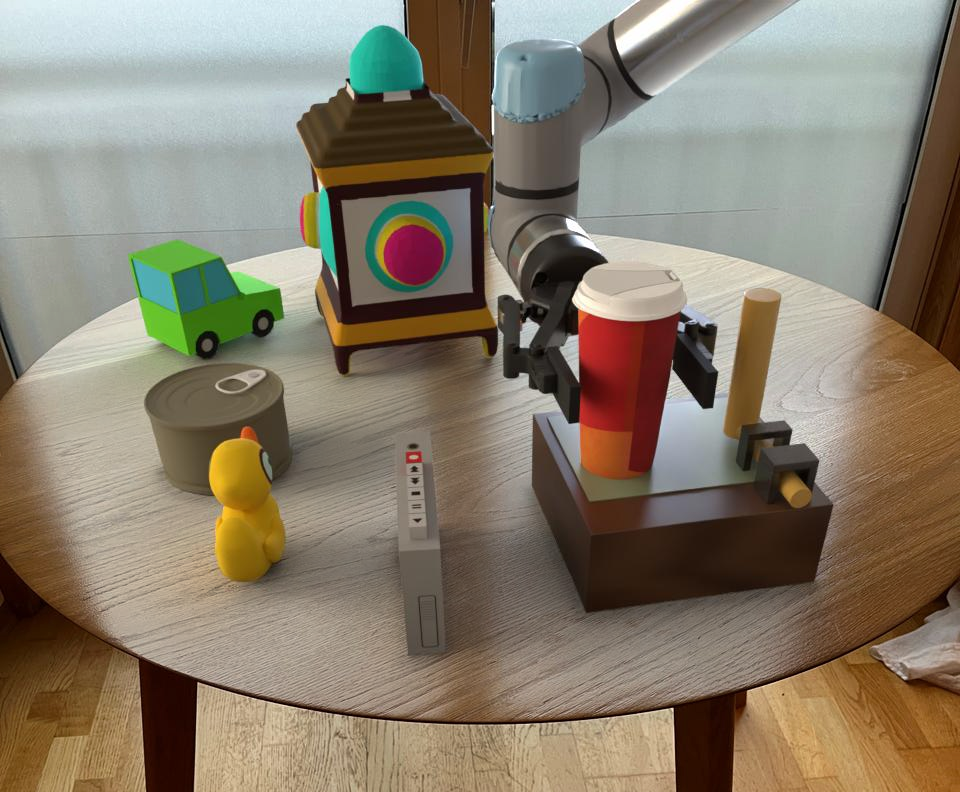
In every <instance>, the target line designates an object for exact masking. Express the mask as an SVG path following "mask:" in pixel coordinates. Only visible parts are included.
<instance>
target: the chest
mask: <svg viewBox="0 0 960 792" xmlns="http://www.w3.org/2000/svg"><path fill="white" fill-rule="evenodd" d="M728 395H729V392H722V393H715V399H714V405H713V408H709V409H702V407H701V406H700V405H699V403H698V402H697V401H696V400H695V398H694V397H693V396H684V397H676V398H666V400H665V405H664V410H663V416H662V421H661V427H660V432H659V437H658V443H657V448H656V453H655V457H654V462H653V465H652V467H651V469H650V470H649V471H648V472H646V473H645V474H643V475H641V476H638V477H635V478H630V479H609V478H604V477H600V476H597V475H595V474H593V473H591V472H589V471H588V470H587V469H585V467H584V466H583V465H582V462H581V454H580V420H579V423H574V424H568V422H567V420H566V418H565V416H564V414H563V412H562V411H561V410H557V411H547V412H539V413H532V434H531V435H532V438H531V439H532V440H531V444H532V446H531V450H532V451H531V488H532V491H533V493H534V495H535V497H536V499H537V501H538V504H539V507H540V509H541V511H542V513H543V516H544V518H545V520H546V523H547V525H548V527H549V530H550V532H551V534H552V536H553V539H554V542H555V543H556V545H557V548H558V551H559V553H560V556H561V557H562V561H563V562H564V565H565V567H566V570H567V571H568V573H569V577H570V578H571V581H572V583H573V585H574V588H575V591H576V592H577V595H578V598H579V599H580V602H581V605H582V607H583V608H584V611H585V613H586V614H588V613H595V612H604V611H610V610H617V609H624V608H631V607H632V608H633V607H639V606H647V605H654V604H655V605H656V604H660V603H661V604H662V603H668V602H669V603H671V602H676V601H683V600H692V599H698V598H704V597H713V596H720V595H727V594H735V593H741V592H742V593H743V592H750V591H756V590H763V589H764V590H765V589H773V588H778V587H786V586H787V587H788V586H794V585H799V584H800V585H801V584H807V583H814V582H815V581H816V576H817V573H818V570H819V565H820V561H821V557H822V553H823V549H824V546H825V541H826V537H827V533H828V529H829V525H830V521H831V518H832V514H833V509H834V506H835V504H834V503H833V501H832V500H831V499H830V497H828V495H827V494H826V493H825V492H824V491H823V490H822V488H821V487H820V486H819V485H818V484H817V483H816V478H817V475H818V474H817V473H818V469H819V468H818V467H819V465H820V458H818V457H817V455H816V454H815V453H814V452H813V451H812V450H811V448H810V447H808V446H809V445H807V444H806V443H805V442H803V443H802V442H801V443H794V444H791V440H792V434H793V431H794V430H793V428H792V427H791V426H790V425H789V424H788V422H787V421H786V420H775V421H774V420H773V421H764V420H763V418H762V417H760V418H759V423H756V424H747V425H742V426H741V433H740V439H739V440H736V439H732V438H729V437H728V436H726V435H725V434H724V432H723V427H724V421H725V414H726V408H727V401H728ZM765 439H768V440H769V442H770V443H771V444H772V445H773V446H774V447H768V448H761V449H760V454H759V459H758V463H757V461H756V460H755V459H754V457H753V451H754V445H755V441H756V440H765ZM792 470H793V471H794V472H795V473H796V474H797V475H798V477H799V478H800V479H801V480H802V482H803V483H804V484H805V485H806V486H807V488H808V489H809V490H810V491H811V493H812V497H811V500H810V501H809V503H808V504H807V505H805V506H804V507H801V508H794V507H792V506H791V505H790V503H789V502H788V501H787V500H786V498H785V497H784V496H783V494H782V493H781V492H780V491H779V489H778V488H777V487H778V482H779V477H780V472H783V471H792Z"/></svg>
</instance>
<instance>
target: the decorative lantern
mask: <svg viewBox="0 0 960 792" xmlns="http://www.w3.org/2000/svg"><path fill="white" fill-rule="evenodd" d="M422 63H423V62H422V59H421V56H420V53H419V50H418V49H417V48H416V47H415V46H414V44H412V42H411V41H410V40H409V39H408V38H407V36H405V35H404V34H403V33H402V32H401V31H399V30H398V29H396V27H392V26H389V25H387V24H381V25H377V26H374V27H372V28H371V29H369V30H367V31H366V32H365V33H364V35H363V36H362V37H361V38H360V39H359V40H358V42H357V44H356V45H355V47H354V48H353V50H352V51H351V54H350V56H349V64H348V68H349V70H348V71H349V77H346V78H345V86H344V87H341V88H338V89H337V92H336V95H335V96H331V97H330V98H329V99H328V101H327V102H319V103H318V102H317V103H314V104H312V105H311V106H310V108H309V111H307V112H304V113H302V114H301V118H300V119H299V120H298V121H297V122H296V125H295V127H296V130H297V133H298V136H299V138H300V140H301V142H302V144H303V147H304V149H305V151H306V154H307V156H308V159H309V163H310V170H311V171H310V172H311V179H312V187H313V188H312V189H313V191H311V192H308V193H306V194H305V195H304V196H303V197H302V199H301V203H300V207H299V227H300V234H301V238H302V241H303V242H304V244H305V245H306V246H307V247H308V248H312V249H316V250H317V249H318V250H320V253H321V259H322V260H321V270H320V273H319V275H318V279H317V280H316V285H315V288H314V295H315V302H316V307H317V311H318V313H319V315H320V317H322V318H323V321H324V323H325V327H326V330H327V333H328V336H329V339H330V342H331V345H332V350H333V354H334V355H333V356H334V362H335V366H336V370H337V372H338V374H339V375H340V376H341V377H348V376H349V375H350V373H351V360H352V356H353V354H355V353H357V352H360V351H369V350H375V349H383V348H384V349H385V348H391V347H399V346H400V347H401V346H409V345H417V344H425V343H432V342H441V341H449V340H457V339H464V338H465V339H466V338H474V337H480V338H481V343H482V350H483V353H484V355H485V357H487V358H489V359H490V358H494V357H495V356H496V354H497V352H498V347H499V328H498V323H497V322H496V319H495V317H494V314H493V312H492V310H491V307H490V306H489V304H488V302H487V299H486V298H487V297H486V271H485V270H486V268H485V265H486V264H485V233H486V232H487V231H488V227H487V221H488V214H489V211H490V208H489V207H488V205H487V204H486V203H485V201H484V200H485V199H484V198H485V197H484V184H485V183H484V182H485V177H486V174H487V171H488V169H489V167H490V164H491V162H492V160H493V156H494V147H492V145H491V144H490V143H489V142H488V141H487V140H486V138H485V136H484V134H482V133H481V132H480V131H479V130H478V129H477V128H476V127H475V126H474V125H473V124H472V123H471V122H470V121H469V120H468V119H467V118H466V116H465V115H463V113H462V112H461V111H460V110H459V109H458V108H457V107H456V106H455V105H454V104H453V103H452V102H451V101H450V100H449V99H448V98H447V97H446V96H445V95H443V94H439V93H433V92H432V91H431V90H430V87H429V86H428V84H426V83H425V81H424V73H423V64H422Z"/></svg>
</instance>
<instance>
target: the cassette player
mask: <svg viewBox="0 0 960 792" xmlns="http://www.w3.org/2000/svg"><path fill="white" fill-rule="evenodd" d="M394 444H395V445H394V449H395V450H394V452H395V480H396V481H395V482H396V509H397V510H396V513H397V514H396V515H397V541H398V542H397V543H398V559H399V571H400V581H401V592H402V603H403V604H402V605H403V615H404V626H405V638H406V650H407V655H408V656H413V655H429V654H444V653H445V654H446V653H447V645H446V630H445V629H446V627H445V626H446V625H445V610H444V609H445V608H444V592H443V591H444V590H443V575H442V574H443V573H442V555H441V542H440V541H441V540H440V531H439V519H438V508H437V507H438V505H437V496H436V495H437V494H436V484H435V474H434V473H435V472H434V462H433V450H432V439H431V430H421V431H403V432H402V431H401V432H395V433H394Z"/></svg>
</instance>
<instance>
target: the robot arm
mask: <svg viewBox="0 0 960 792" xmlns="http://www.w3.org/2000/svg"><path fill="white" fill-rule="evenodd" d="M799 1H801V0H636V1H635V2H634V3H632V4H631V5H630V6H628V7H627V8H625V9H624V10H623V11H621V12H620V13H619V14H618V15H617V16H615V17H614V18H612V19H611V20H610V21H608V22H607V23H605V24H604V25H602V26H601V27H600V28H598V29H597V30H596V31H594V32H593V33H591V34H590V35H589V36H587V37H586V38H585V39H583V40H582V41H581V42H580V43H578V44H576V43H574V42H572V41H570V40H564V39H557V38H531V39H523V40H520V41H519V40H518V41H512V42H509V43H506V44H505V45H504V46H502V47H501V48H500V49H499V50H498V52H497V54H496V57H495V63H494V64H495V65H494V84H493V85H494V87H493V90H492V97H491V98H492V99H491V100H492V104H493V124H494V125H493V129H494V135H493V136H494V176H495V177H494V178H495V179H494V181H495V182H494V183H495V186H494V200H493V202H492V204H491V205H490V208H489V214H488V221H487V227H488V229H487V233H488V237H489V243H490V247H491V248H492V249H493V252H494V255H495V257H496V259H497V261H498V262H500V264H501V265H502V267H503V269H504V270H505V272H506V274H507V275H508V277H509V278H510V280H511V281H512V283H513V284H514V287H515V288H516V290H517V292H518V293H519V295H520V297H521V298H522V299H516V298H514V296H512V295H511V294H501V295H498V296H497V327H498V331H500V332H501V334H502V335H503V336H502V376H503V378H505V379H507V380H508V379H509V380H512V379H513V380H514V379H517V378H519V377H520V374H526V375H528V388H529V389H531V390H534V391H539V392H540V393H541V394H543V395H550V394H551V395H553V397H554V399H555V402H556V403H557V405H558V407H559V409H560V411H562V412H563V414H564V416H565V418H566V420H567V422H568V424H574V423H579V418H580V399H581V385H580V384H579V379H577V377H576V375H575V374H574V372H573V370H572V369H571V367H570V364H569V363H568V361H567V360H566V358H565V357H564V355H563V353H562V351H561V348H563V347H565V345H566V343H567V341H568V340H569V337H573V336H579V321H578V308H577V307H576V306H575V305H574V303H573V301H572V298H573V296H574V294H575V292H576V290H577V287H578V285H579V283H580V282H582V280H583V276H584V274H585V273H586V272H587V271H589V270H590V269H591V268H593V267H596V266H598V265H602V264H606V263H610V262H609V261H608V259H607V258H606V257H605V255H604V254H603V253H602V252H601V251H600V249H599V248H598V246H597V245H596V244H595V243H594V241H593V240H592V239H591V238H590V236H589V235H588V234H587V233H586V232H585V231H584V229H583V228H582V226H581V225H580V224H579V223H578V209H579V207H578V206H579V187H580V174H581V173H580V170H581V152H582V151H581V150H582V147H583V146H585V145H586V144H587V143H589V142H590V141H592V140H593V139H595V138H596V137H597V136H598V135H600V134H601V133H603V132H605V131H606V130H608V129H610V128H612V127H613V126H615V125H616V124H618V123H619V122H622V120H624V119H625V118H627V117H628V116H629V115H630V114H631V113H633V112H635V111H637V109H639V108H640V107H642V106H644V105H645V104H646V103H648V102H650V101H651V100H652V99H654V98H655V97H656V96H658V95H659V94H660V93H662V92H664V91H666V90H667V89H668V88H670V87H672V86H673V85H674V84H676V83H677V82H679V81H681V80H682V79H683V78H685V77H686V76H688V75H689V74H691V73H693V72H694V71H695V70H697V69H698V68H700V67H701V66H704V65H705V64H707V63H708V62H709V61H711V60H712V59H713V58H715V57H717V56H718V55H719V54H721V53H722V52H725V51H726V50H727V49H729V48H730V47H731V46H733V45H734V44H736V43H738V42H739V41H741V40H742V39H744V38H745V37H747V36H748V35H750V34H751V33H753V32H754V31H756V30H757V29H759V28H760V27H762V26H763V25H765V24H767V23H768V22H769V21H771V20H772V19H775V18H776V17H777V16H779V15H780V14H782V13H783V12H785V11H786V10H788V9H789V8H791V7H792V6H794V5H796V4H797V3H798V2H799ZM528 319H529V320H530V321H531V322H533V323H535V324H537V325H538V329H537V331H536V332H535V335H533V337H532V339H531V341H530V343H529V346H528V347H521V332H522V331H523V325H524V324H526V323H527V320H528ZM718 328H719V325H718V323H716V322H715V321H714V320H712V319H710V318H709V317H707V316H705V315H704V314H702V313H701V312H699V311H698V310H697V309H695V308H693V307H692V306H691V305H689V304H688V303H687V304H686V306H685V307H684V308H683V309H682V310H681V313H680V319H679V324H678V330H677V336H676V342H675V348H674V354H673V360H672V367H671V370H672V371H673V372H674V374H675V375H676V377H678V379H679V380H680V381H681V382H682V384H683V385H684V387H685V388H686V389H687V391H688V392H689V393H690V394H691V397H694V398H695V400H696V401H697V402H698V403H699V405H700V406H701V407H702V409H709V408H713V405H714V399H715V394H716V390H717V383H718V377H719V371H718V370H717V368H716V367H715V366H714V365H713V359H714V356H715V348H716V343H717V342H716V341H717V336H718V335H717V334H718Z"/></svg>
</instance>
